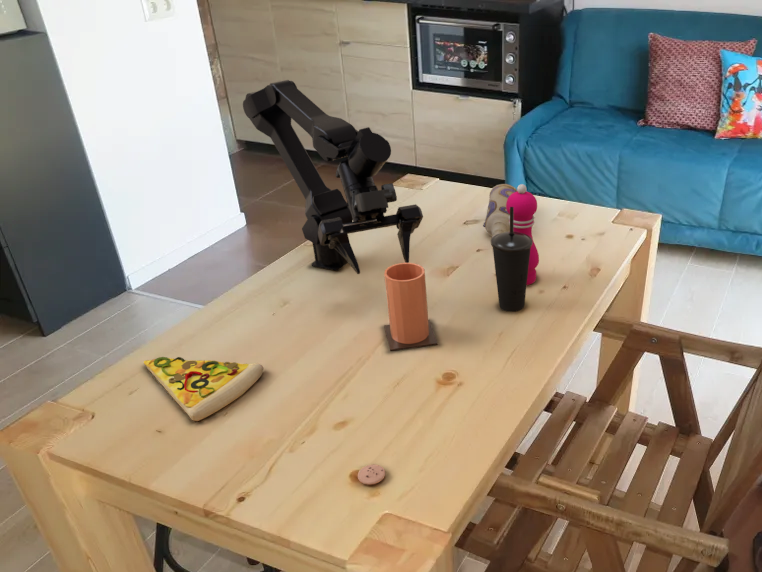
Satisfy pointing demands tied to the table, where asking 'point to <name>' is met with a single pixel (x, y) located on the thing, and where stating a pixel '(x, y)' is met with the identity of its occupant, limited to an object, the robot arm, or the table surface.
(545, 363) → the table surface
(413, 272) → the peach cup
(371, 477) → the cookie
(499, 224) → the decorative bottle
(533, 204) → the pepper mill
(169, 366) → the pizza slice
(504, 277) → the drinking cup
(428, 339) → the walnut coaster
